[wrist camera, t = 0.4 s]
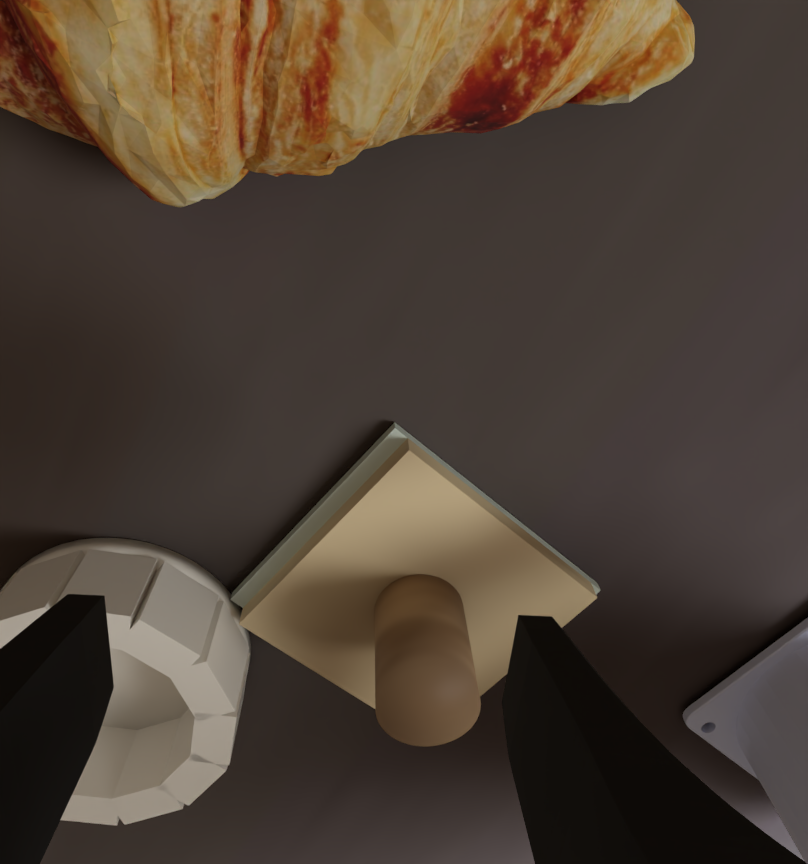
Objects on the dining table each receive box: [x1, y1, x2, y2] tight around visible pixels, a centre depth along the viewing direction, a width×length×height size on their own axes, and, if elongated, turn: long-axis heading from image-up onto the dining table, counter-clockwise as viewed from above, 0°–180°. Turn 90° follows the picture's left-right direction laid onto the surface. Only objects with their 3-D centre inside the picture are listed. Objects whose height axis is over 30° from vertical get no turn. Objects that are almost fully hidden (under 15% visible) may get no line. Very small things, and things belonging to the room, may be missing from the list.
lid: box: [239, 438, 597, 746], centre depth 22 cm, size 8×8×5 cm
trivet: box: [230, 422, 601, 608], centre depth 24 cm, size 9×8×1 cm
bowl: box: [0, 538, 251, 825], centre depth 23 cm, size 8×8×4 cm
